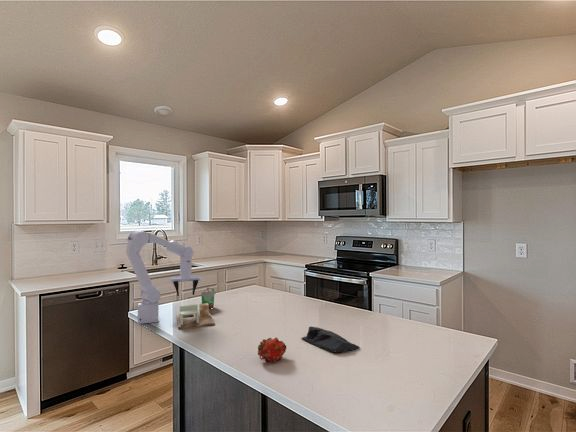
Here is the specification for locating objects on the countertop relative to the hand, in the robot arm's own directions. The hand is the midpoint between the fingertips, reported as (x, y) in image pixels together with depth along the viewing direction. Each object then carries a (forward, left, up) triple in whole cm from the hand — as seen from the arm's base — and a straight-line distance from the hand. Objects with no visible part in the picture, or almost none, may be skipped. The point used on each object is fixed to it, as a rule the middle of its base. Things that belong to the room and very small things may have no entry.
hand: (185, 295), depth 172 cm
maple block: (+8, -10, -8) cm, 15 cm away
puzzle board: (+3, -15, -9) cm, 18 cm away
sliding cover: (0, -20, -8) cm, 21 cm away
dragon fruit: (+24, -70, -10) cm, 75 cm away
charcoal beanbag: (+50, -64, -10) cm, 82 cm away
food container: (+13, +5, -10) cm, 17 cm away
